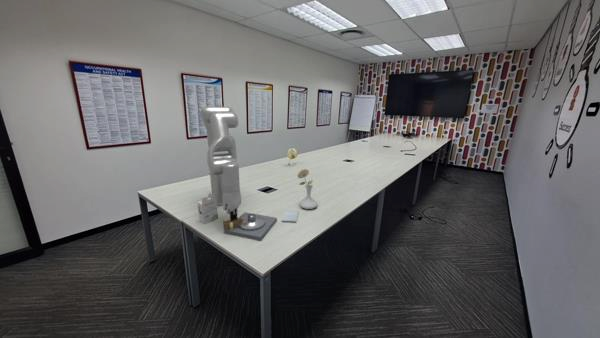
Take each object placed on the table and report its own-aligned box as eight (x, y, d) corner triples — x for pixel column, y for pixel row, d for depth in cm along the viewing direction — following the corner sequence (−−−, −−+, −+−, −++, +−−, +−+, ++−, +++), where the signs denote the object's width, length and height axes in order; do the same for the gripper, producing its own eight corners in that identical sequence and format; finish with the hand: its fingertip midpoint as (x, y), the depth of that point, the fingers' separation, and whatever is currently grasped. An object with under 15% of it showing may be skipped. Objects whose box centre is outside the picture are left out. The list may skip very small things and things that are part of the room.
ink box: (213, 215, 133) (211, 191, 129) (218, 218, 130) (216, 193, 126) (199, 221, 127) (196, 196, 123) (203, 224, 124) (201, 198, 120)
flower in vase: (314, 202, 153) (316, 165, 146) (319, 210, 143) (321, 171, 135) (295, 203, 151) (296, 166, 144) (298, 211, 140) (299, 172, 133)
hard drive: (296, 221, 127) (298, 211, 139) (281, 220, 127) (285, 210, 139) (296, 224, 127) (298, 213, 139) (281, 223, 128) (285, 212, 140)
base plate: (224, 233, 116) (223, 222, 114) (244, 215, 134) (244, 205, 132) (260, 240, 110) (260, 229, 109) (276, 221, 129) (276, 211, 127)
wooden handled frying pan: (226, 236, 110) (226, 227, 108) (221, 222, 121) (221, 214, 120) (269, 226, 119) (268, 218, 117) (260, 214, 131) (260, 207, 129)
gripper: (233, 181, 122) (235, 212, 128) (215, 191, 109) (218, 226, 114) (246, 183, 120) (247, 214, 126) (230, 193, 107) (232, 229, 112)
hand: (234, 220), depth 120 cm, fingers closed
